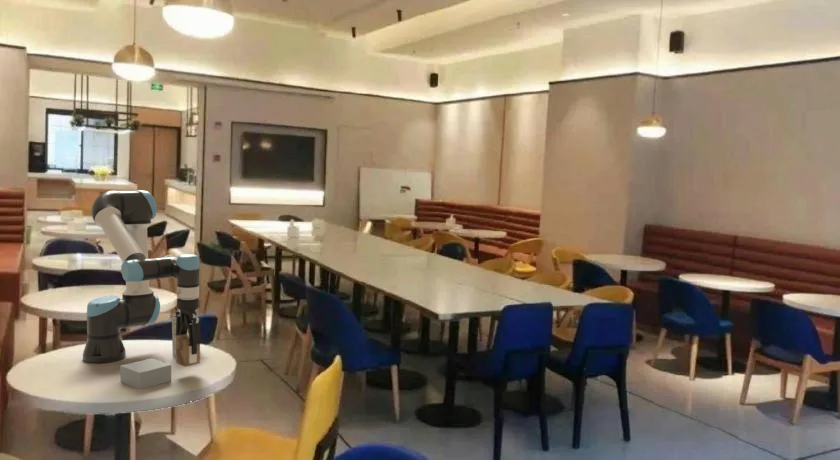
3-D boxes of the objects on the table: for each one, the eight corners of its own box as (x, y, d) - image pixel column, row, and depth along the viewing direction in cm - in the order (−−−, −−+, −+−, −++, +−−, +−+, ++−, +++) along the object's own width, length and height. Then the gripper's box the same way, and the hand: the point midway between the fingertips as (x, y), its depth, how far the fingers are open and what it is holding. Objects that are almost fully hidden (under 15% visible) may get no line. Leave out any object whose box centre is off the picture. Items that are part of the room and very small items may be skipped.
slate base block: (120, 382, 241) (120, 365, 240) (151, 374, 251) (151, 358, 250) (140, 390, 234) (139, 372, 233) (171, 381, 244) (171, 364, 243)
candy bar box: (186, 348, 283) (186, 309, 282) (197, 349, 282) (197, 310, 281) (171, 356, 273) (171, 315, 271) (183, 357, 272) (182, 316, 270)
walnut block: (176, 362, 249) (176, 335, 248) (191, 359, 254) (191, 332, 253) (184, 366, 245) (184, 339, 244) (199, 363, 250) (200, 336, 249)
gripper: (165, 294, 250) (165, 356, 253) (191, 303, 238) (191, 368, 240) (184, 291, 256) (184, 352, 259) (211, 301, 243) (211, 364, 246)
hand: (188, 360), depth 249 cm, fingers closed on walnut block, 6 cm apart
